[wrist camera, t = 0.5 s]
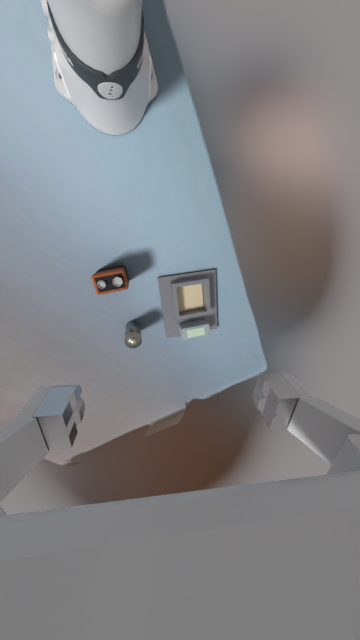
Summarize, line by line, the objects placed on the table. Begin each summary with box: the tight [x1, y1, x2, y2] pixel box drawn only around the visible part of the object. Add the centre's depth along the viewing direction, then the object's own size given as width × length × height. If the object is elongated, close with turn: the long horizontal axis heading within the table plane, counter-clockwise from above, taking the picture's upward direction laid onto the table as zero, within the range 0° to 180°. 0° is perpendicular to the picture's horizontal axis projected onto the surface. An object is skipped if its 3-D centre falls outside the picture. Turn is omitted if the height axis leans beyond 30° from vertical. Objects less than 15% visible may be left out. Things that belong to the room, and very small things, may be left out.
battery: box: [92, 265, 129, 295], centre depth 47 cm, size 4×7×10 cm, turn 98°
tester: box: [158, 269, 217, 340], centre depth 56 cm, size 18×16×5 cm
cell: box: [125, 321, 142, 348], centre depth 53 cm, size 4×4×9 cm
